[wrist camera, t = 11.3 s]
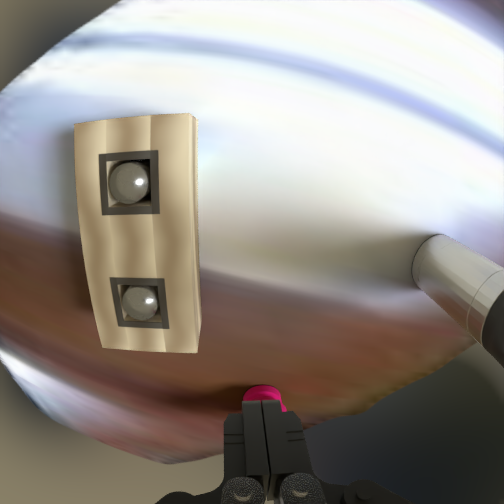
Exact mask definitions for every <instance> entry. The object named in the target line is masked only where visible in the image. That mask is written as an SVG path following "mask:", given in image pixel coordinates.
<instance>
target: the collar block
mask: <svg viewBox="0 0 504 504" xmlns="http://www.w3.org/2000/svg"><path fill="white" fill-rule="evenodd" d="M74 155H75V179H76V194H77V206H78V217H79V226H80V234H81V242H82V249H83V256H84V263H85V269H86V275H87V280H88V286H89V291H90V296H91V301H92V306H93V310H94V315H95V319H96V324H97V328H98V332H99V336H100V340H101V344H102V347H103V348H113V349H125V350H138V351H155V352H177V353H197V349H198V342H199V334H200V327H201V320H202V314H201V295H200V272H199V243H198V119H196V118H195V117H194V116H192V115H191V114H190V113H182V114H162V115H148V116H136V117H125V118H116V119H107V120H99V121H91V122H84V123H78V124H74ZM135 159H150V177H151V194H148V195H147V196H145V197H143V198H142V199H140V200H139V201H137V202H135V203H132V204H124V203H121V202H119V201H118V200H116V199H115V198H114V196H113V195H112V193H111V191H110V187H109V181H110V176H111V174H112V172H113V171H114V170H115V168H117V167H118V166H119V165H122V164H125V163H129V162H131V160H135ZM130 285H151V286H158V295H159V305H158V308H157V310H156V313H155V315H154V316H153V317H152V318H150V319H148V320H137V319H134V318H132V317H131V316H129V315H128V314H127V313H126V311H125V310H124V308H123V304H122V299H123V296H124V294H125V292H126V291H127V289H128V288H129V286H130Z"/></svg>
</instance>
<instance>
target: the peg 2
mask: <svg viewBox="0 0 504 504" xmlns="http://www.w3.org/2000/svg"><path fill="white" fill-rule="evenodd" d="M122 304H123V308H124V310H125V311H126V313H127V314H128V315H129V316H131V317H132V318H134V319H137V320H148V319H150V318H152V317H153V316H154V315H155V313H156V310H157V308H158V305H159V295H158V286H151V285H130V286H129V288H128V289H127V291H126V292H125V294H124V296H123V299H122Z"/></svg>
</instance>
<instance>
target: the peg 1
mask: <svg viewBox="0 0 504 504" xmlns="http://www.w3.org/2000/svg"><path fill="white" fill-rule="evenodd" d="M109 187H110V191H111V193H112V195H113V196H114V198H115V199H116V200H118V201H119V202H121V203H124V204H132V203H135V202H137V201H139V200H140V199H142V198H143V197H145V196H147V195H148V194H150V193H151V177H150V159H143V160H138V161H134V162H129V163H125V164H122V165H119V166H118V167H117V168H115V170H114V171H113V172H112V174H111V176H110V181H109Z"/></svg>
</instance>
